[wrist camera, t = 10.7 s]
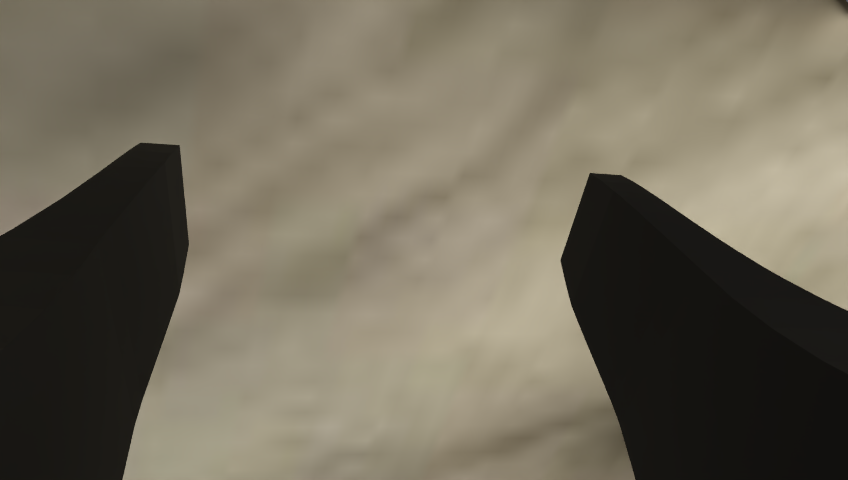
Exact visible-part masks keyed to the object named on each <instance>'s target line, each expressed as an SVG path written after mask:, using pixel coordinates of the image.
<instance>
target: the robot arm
mask: <svg viewBox="0 0 848 480" xmlns="http://www.w3.org/2000/svg"><path fill="white" fill-rule="evenodd" d="M846 1H847V2H848V0H846ZM188 246H189V240H188V230H187V219H186V208H185V198H184V187H183V176H182V166H181V155H180V145H167V144H152V143H140V144H138V145H136V146H135V147H133V148H132V149H130V150H129V151H127V152H126V153H125V154H123V155H122V156H121V157H119V158H118V159H116V160H115V161H114V162H112V163H111V164H110V165H108V166H107V167H105V168H104V169H103V170H101V171H100V172H99V173H97V174H96V175H94V176H93V177H92V178H90V179H89V180H87V181H86V182H84V183H83V184H82V185H80V186H79V187H77V188H76V189H74V190H73V191H72V192H70V193H69V194H67V195H66V196H64V197H63V198H61V199H60V200H58V201H57V202H55V203H54V204H52V205H50V206H49V207H47V208H46V209H44V210H42V211H41V212H39V213H38V214H36V215H34V216H33V217H31V218H30V219H28V220H26V221H25V222H23V223H22V224H20V225H18V226H17V227H15V228H14V229H12V230H10V231H8V232H7V233H5V234H3V235H1V236H0V480H122V479H123V474H124V470H125V466H126V461H127V457H128V452H129V448H130V444H131V439H132V435H133V430H134V426H135V423H136V419H137V416H138V413H139V409H140V406H141V402H142V399H143V396H144V394H145V391H146V388H147V385H148V382H149V379H150V377H151V374H152V371H153V368H154V365H155V362H156V359H157V357H158V354H159V351H160V348H161V345H162V342H163V340H164V337H165V334H166V331H167V328H168V325H169V322H170V319H171V317H172V314H173V311H174V308H175V305H176V302H177V299H178V296H179V293H180V288H181V283H182V278H183V273H184V268H185V262H186V257H187V252H188ZM561 264H562V269H563V273H564V278H565V282H566V286H567V290H568V294H569V298H570V302H571V305H572V308H573V310H574V313H575V316H576V318H577V321H578V323H579V325H580V328H581V330H582V333H583V335H584V338H585V340H586V343H587V345H588V347H589V350H590V352H591V354H592V357H593V359H594V362H595V364H596V366H597V369H598V371H599V374H600V376H601V378H602V381H603V383H604V385H605V388H606V390H607V393H608V395H609V397H610V400H611V402H612V405H613V407H614V410H615V413H616V416H617V418H618V421H619V424H620V427H621V430H622V434H623V437H624V441H625V444H626V448H627V451H628V455H629V458H630V461H631V465H632V468H633V472H634V475H635V479H636V480H848V311H847V310H845V309H842V308H840V307H838V306H836V305H834V304H832V303H830V302H828V301H826V300H824V299H822V298H820V297H818V296H816V295H814V294H812V293H810V292H808V291H806V290H804V289H803V288H801V287H799V286H797V285H795V284H793V283H791V282H789V281H787V280H785V279H783V278H782V277H780V276H778V275H776V274H775V273H773V272H771V271H769V270H768V269H766V268H764V267H762V266H761V265H759V264H758V263H756V262H754V261H753V260H751V259H749V258H748V257H746V256H745V255H743V254H741V253H740V252H738V251H736V250H735V249H733V248H732V247H730V246H729V245H727V244H726V243H724V242H722V241H721V240H719V239H718V238H716V237H715V236H713V235H712V234H710V233H709V232H707V231H706V230H704V229H703V228H701V227H700V226H698V225H697V224H696V223H694V222H693V221H691V220H690V219H688V218H687V217H685V216H684V215H682V214H681V213H680V212H678V211H677V210H675V209H674V208H672V207H671V206H669V205H668V204H667V203H665V202H664V201H662V200H661V199H659V198H658V197H656V196H655V195H653V194H652V193H650V192H649V191H647V190H646V189H644V188H643V187H641V186H639V185H638V184H636V183H635V182H633V181H631V180H629V179H627V178H625V177H624V176H622V175H610V174H595V173H590V174H589V177H588V180H587V183H586V186H585V189H584V192H583V195H582V198H581V201H580V204H579V207H578V210H577V213H576V216H575V219H574V222H573V225H572V228H571V231H570V234H569V237H568V240H567V243H566V246H565V249H564V251H563V254H562V257H561Z"/></svg>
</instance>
